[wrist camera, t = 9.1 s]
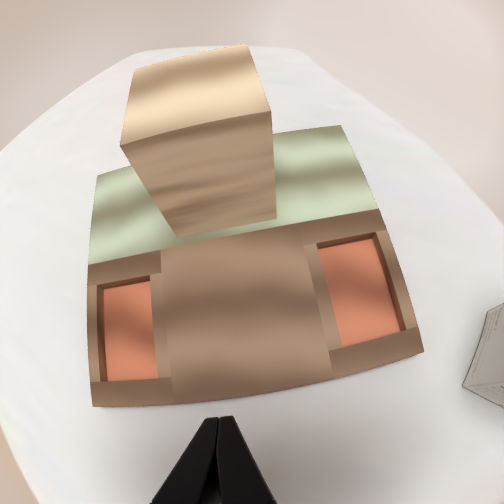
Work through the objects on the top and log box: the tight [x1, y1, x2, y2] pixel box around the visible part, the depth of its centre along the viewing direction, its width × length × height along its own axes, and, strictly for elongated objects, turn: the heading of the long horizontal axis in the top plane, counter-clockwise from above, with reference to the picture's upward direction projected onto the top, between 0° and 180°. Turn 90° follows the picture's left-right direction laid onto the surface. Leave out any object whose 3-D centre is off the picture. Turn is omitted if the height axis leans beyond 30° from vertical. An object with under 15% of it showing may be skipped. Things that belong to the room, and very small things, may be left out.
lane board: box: [87, 125, 424, 407], centre depth 25 cm, size 22×25×2 cm
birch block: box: [120, 44, 277, 238], centre depth 21 cm, size 8×8×11 cm
